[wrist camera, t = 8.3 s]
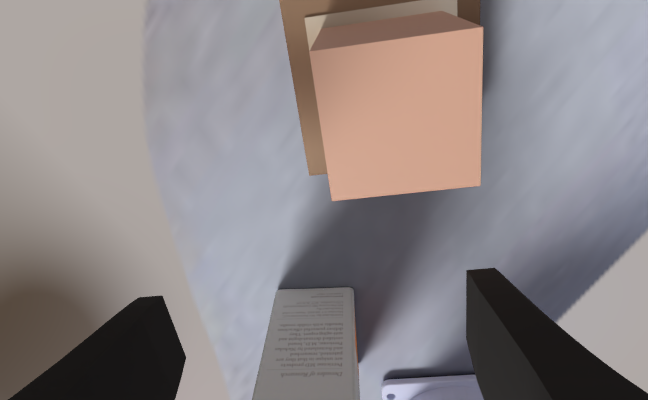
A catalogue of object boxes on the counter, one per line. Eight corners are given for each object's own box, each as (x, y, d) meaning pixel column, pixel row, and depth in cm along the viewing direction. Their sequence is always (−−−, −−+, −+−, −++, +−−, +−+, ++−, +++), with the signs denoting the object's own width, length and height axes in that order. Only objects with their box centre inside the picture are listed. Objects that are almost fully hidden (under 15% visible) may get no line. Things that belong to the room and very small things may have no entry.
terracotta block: (444, 127, 16) (480, 185, 12) (336, 140, 17) (331, 201, 12) (442, 10, 14) (483, 26, 10) (321, 28, 15) (309, 51, 10)
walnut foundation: (463, 135, 19) (478, 157, 17) (313, 153, 20) (309, 176, 17) (462, -34, 16) (481, -35, 14) (288, -7, 17) (278, -3, 14)
